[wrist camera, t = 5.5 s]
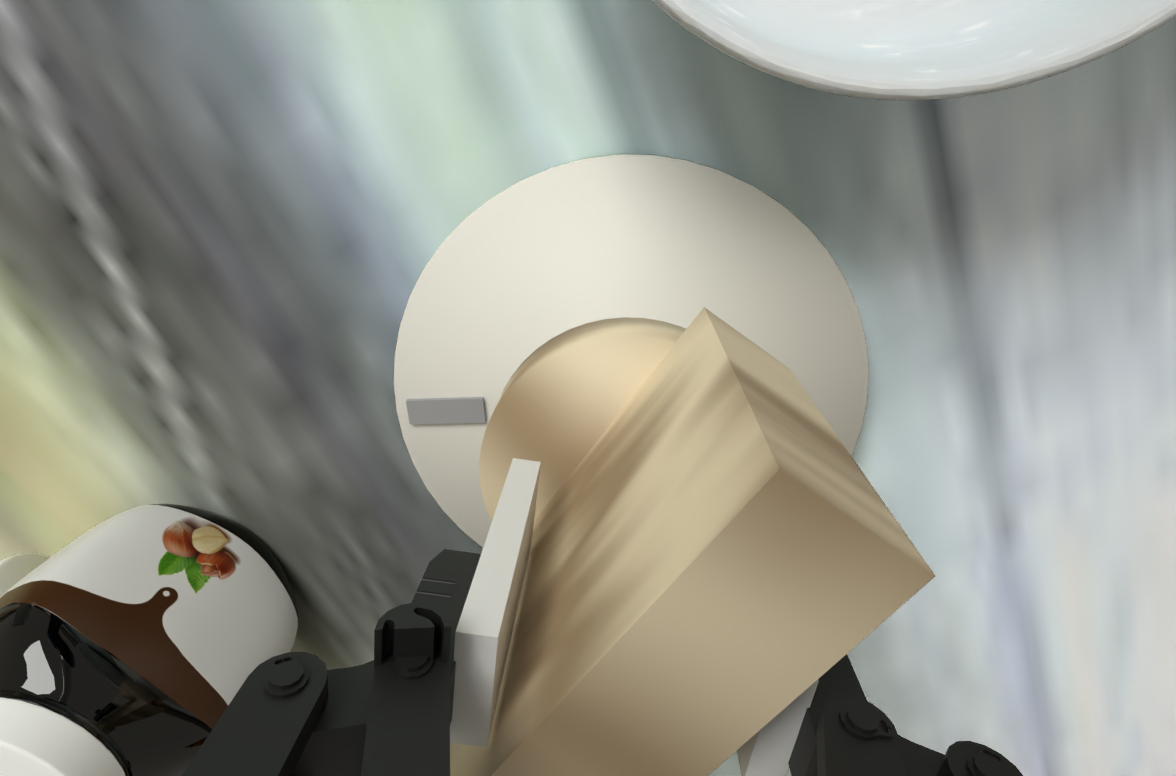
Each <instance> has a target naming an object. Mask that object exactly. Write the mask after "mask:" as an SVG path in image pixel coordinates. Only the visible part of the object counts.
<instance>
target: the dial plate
mask: <svg viewBox="0 0 1176 776" xmlns="http://www.w3.org/2000/svg"><path fill="white" fill-rule="evenodd" d="M703 307H705V308H706V309H708V310H709V311H711V312H712V313H713V314H715V315H716V316H718V317H719V318H720V319H722V320H723V321H724V322H726V323H727V324H729V325H730V326H731V327H733V328H734V329H736V330H737V331H738V332H740V333H741V334H742V335H744V336H745V337H747V338H748V339H749V340H751V341H752V342H754V343H755V344H756V345H758V346H759V347H760V348H762V349H763V350H765V351H766V352H767V353H769V354H770V355H772V356H773V357H774V358H776V359H777V360H778V361H780V362H781V363H783V364H784V365H785V366H787V367H788V368H790V370H791V371H792V373H793V374H794V376H795V377H796V378H797V380H798V381H799V383H800V384H801V385H802V387H803V388H804V390H805V391H806V393H807V394H808V395H809V397H810V398H811V400H812V401H813V403H814V404H815V405H816V407H817V408H818V410H819V411H820V413H821V414H822V415H823V417H824V418H825V420H826V421H827V422H828V424H829V425H830V427H831V428H832V430H833V431H834V432H835V434H836V435H837V437H838V438H839V440H840V441H841V442H842V444H843V445H844V447H845V448H846V450H847V451H848V452H849V454H850V455H851V457H852V455H853V452H854V449H855V446H856V443H857V440H858V437H859V434H860V431H861V428H862V424H863V419H864V414H865V408H866V403H867V397H868V374H869V366H868V357H867V347H866V338H865V334H864V330H863V326H862V323H861V319H860V315H859V311H858V308H857V305H856V303H855V301H854V298H853V296H852V294H851V291H850V289H849V287H848V284H847V282H846V280H845V278H844V276H843V275H842V273H841V271H840V270H839V268H838V267H837V265H836V263H835V262H834V260H833V258H832V257H831V255H830V254H829V252H828V251H827V250H826V249H825V247H824V246H823V245H822V244H821V243H820V241H819V240H818V239H817V238H816V237H815V235H814V234H813V233H812V232H811V231H810V229H809V228H808V227H807V226H806V225H804V224H803V223H802V222H801V221H800V220H799V219H798V218H797V217H795V216H794V215H793V214H792V213H791V212H790V211H789V210H788V209H786V208H785V207H784V206H783V205H781V204H780V203H778V202H777V201H775V200H774V199H772V198H771V197H769V196H768V195H766V194H765V193H763V192H762V191H760V190H759V189H757V188H756V187H754V186H752V185H750V184H748V183H745V182H743V181H741V180H739V179H737V178H735V177H733V176H730V175H728V174H726V173H724V172H722V171H719V170H717V169H714V168H710V167H707V166H704V165H700V164H697V163H694V162H691V161H687V160H683V159H677V158H670V157H664V156H658V155H643V154H616V155H607V156H599V157H591V158H585V159H581V160H577V161H573V162H570V163H566V164H562V165H558V166H555V167H552V168H550V169H547V170H545V171H543V172H540V173H538V174H535V175H533V176H531V177H528V178H526V179H524V180H522V181H520V182H518V183H516V184H514V185H513V186H511V187H509V188H508V189H506V190H504V191H503V192H501V193H499V194H498V195H496V196H494V197H493V198H491V199H489V200H488V201H487V202H485V203H484V204H483V205H482V206H480V207H479V208H478V209H477V210H476V211H474V212H473V213H472V214H471V215H469V216H468V217H467V218H466V219H464V220H463V221H462V222H461V223H460V224H459V225H458V227H457V228H456V229H455V230H454V231H453V232H452V233H451V234H450V235H449V236H448V237H447V238H446V239H445V241H444V242H443V243H442V244H441V245H440V246H439V248H438V249H437V251H436V252H435V254H434V255H433V257H432V258H431V259H430V261H429V262H428V264H427V265H426V267H425V268H424V270H423V271H422V273H421V275H420V277H419V279H418V281H417V283H416V285H415V287H414V289H413V291H412V293H411V295H410V297H409V300H408V303H407V306H406V309H405V312H404V315H403V319H402V322H401V325H400V329H399V335H398V340H397V346H396V351H395V367H394V389H395V399H396V408H397V414H398V418H399V422H400V426H401V430H402V434H403V438H404V441H405V443H406V446H407V449H408V451H409V454H410V456H411V459H412V461H413V464H414V466H415V467H416V469H417V471H418V473H419V475H420V477H421V478H422V480H423V482H424V484H425V486H426V488H427V489H428V490H429V492H430V493H431V494H432V496H433V497H434V499H435V500H436V501H437V503H438V504H439V505H440V507H441V508H442V510H443V511H444V512H445V513H446V514H447V515H448V516H449V517H450V518H451V519H452V520H453V521H454V522H455V523H456V525H457V526H458V527H459V528H460V529H461V530H462V531H464V532H465V533H466V534H467V535H468V536H469V537H471V538H472V539H473V540H474V541H475V542H477V543H478V544H479V545H480V546H481V547H484V544H485V541H486V538H487V535H488V532H489V529H490V526H491V523H492V521H491V519H490V517H489V515H488V512H487V509H486V506H485V503H484V501H483V496H482V491H481V486H480V476H479V461H480V451H481V445H482V442H483V438H484V434H485V430H486V428H487V426H488V423H489V421H490V418H491V416H492V414H493V412H494V409H495V407H496V405H497V403H498V401H499V398H500V396H501V394H502V392H503V390H504V388H505V386H506V385H507V383H508V381H509V380H510V378H511V376H512V375H513V373H514V372H515V371H516V370H517V369H518V367H519V366H520V365H521V364H522V362H523V361H524V360H525V359H526V358H527V357H529V356H530V355H531V354H532V353H533V352H534V351H535V350H536V349H537V348H539V347H540V346H542V345H543V344H544V343H546V342H547V341H549V340H550V339H552V338H553V337H555V336H557V335H559V334H561V333H563V332H565V331H567V330H569V329H572V328H575V327H577V326H580V325H583V324H586V323H590V322H594V321H599V320H603V319H612V318H622V317H629V318H647V319H653V320H659V321H664V322H667V323H671V324H674V325H678V326H681V327H683V328H685V329H687V328H688V326H689V325H690V324H691V323H692V321H693V320H694V319H695V318H696V316H697V315H698V314H699V313H700V311H701V310H702V309H703Z"/></svg>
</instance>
